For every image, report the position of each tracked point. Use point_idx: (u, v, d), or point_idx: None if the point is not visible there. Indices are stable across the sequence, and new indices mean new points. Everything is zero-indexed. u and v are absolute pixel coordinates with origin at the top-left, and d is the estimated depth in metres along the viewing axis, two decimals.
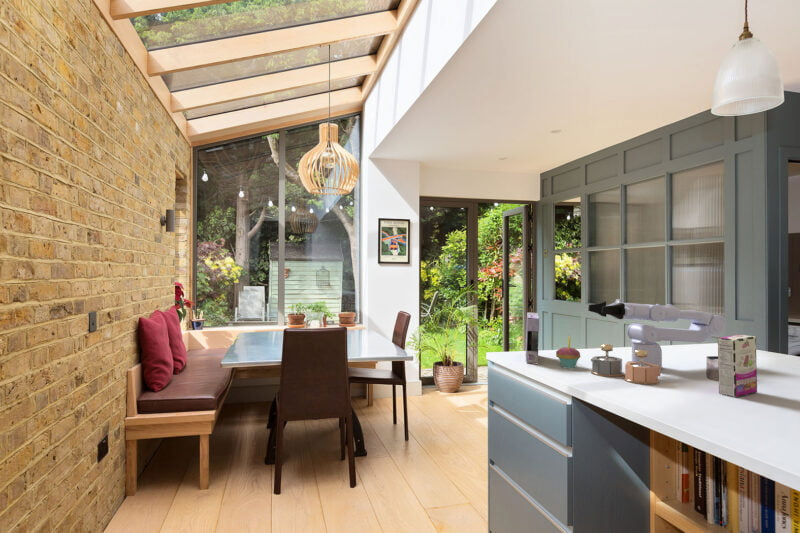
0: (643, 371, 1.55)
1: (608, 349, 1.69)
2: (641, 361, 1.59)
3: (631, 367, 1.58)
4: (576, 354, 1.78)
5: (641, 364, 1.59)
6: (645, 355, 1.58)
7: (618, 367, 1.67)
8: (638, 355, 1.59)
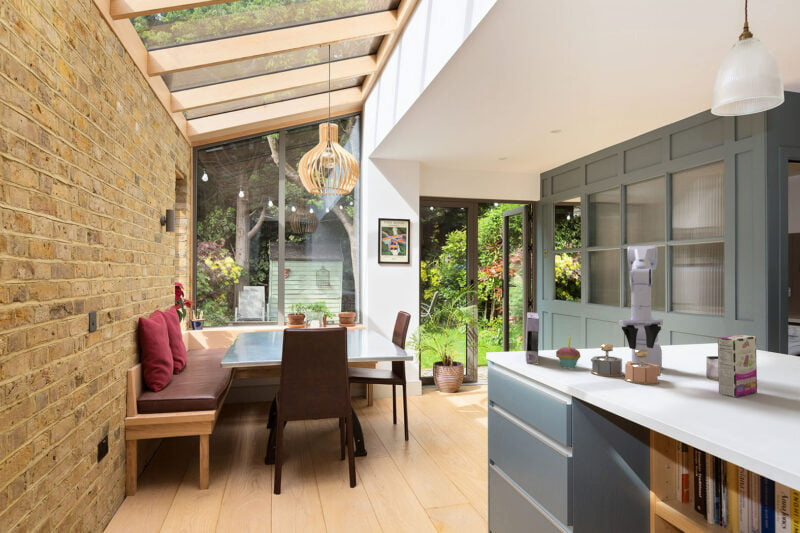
0: (643, 371, 1.55)
1: (608, 349, 1.69)
2: (641, 361, 1.59)
3: (631, 367, 1.58)
4: (576, 354, 1.78)
5: (641, 364, 1.59)
6: (645, 355, 1.58)
7: (618, 367, 1.67)
8: (638, 355, 1.59)
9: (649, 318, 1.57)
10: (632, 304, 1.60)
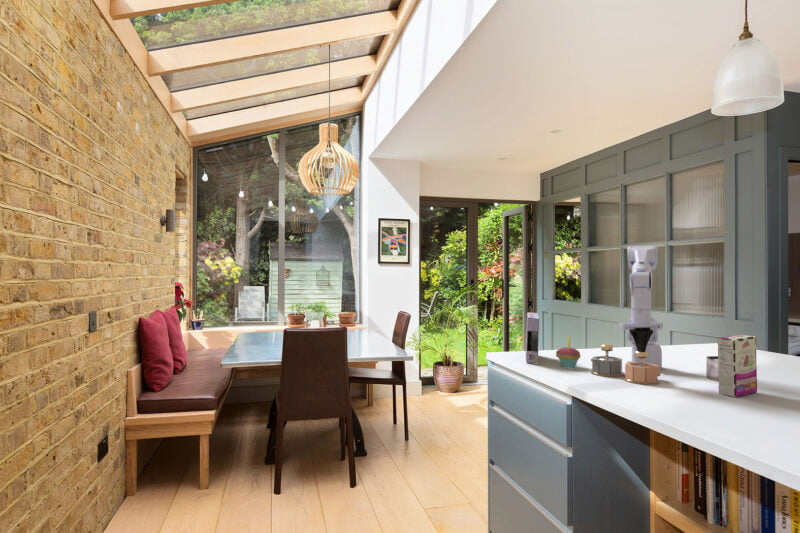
0: (643, 371, 1.55)
1: (608, 349, 1.69)
2: (641, 362, 1.59)
3: (631, 367, 1.58)
4: (576, 354, 1.78)
5: (641, 365, 1.59)
6: (645, 356, 1.58)
7: (618, 367, 1.67)
8: (638, 356, 1.59)
9: (649, 321, 1.57)
10: (632, 307, 1.60)
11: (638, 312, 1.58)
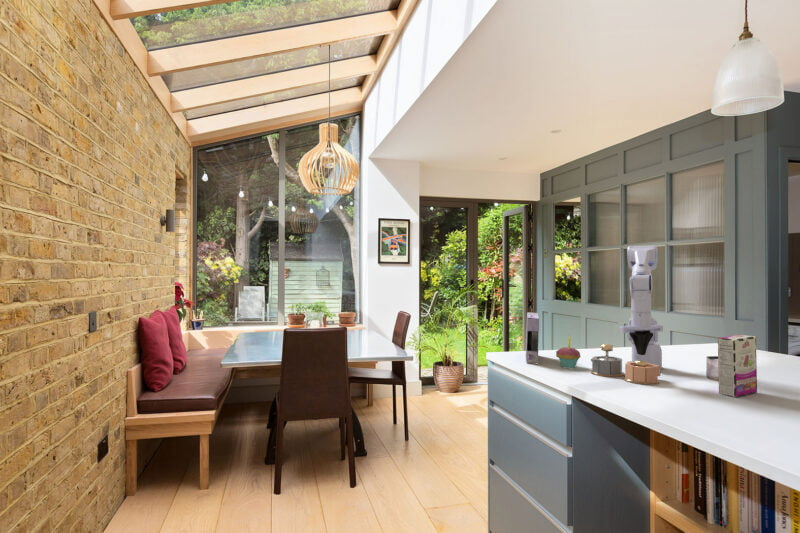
0: (643, 371, 1.55)
1: (608, 349, 1.69)
2: None
3: (631, 367, 1.58)
4: (576, 354, 1.78)
5: None
6: (645, 366, 1.58)
7: (618, 367, 1.67)
8: (638, 366, 1.59)
9: (649, 324, 1.57)
10: (632, 310, 1.60)
11: (638, 315, 1.58)
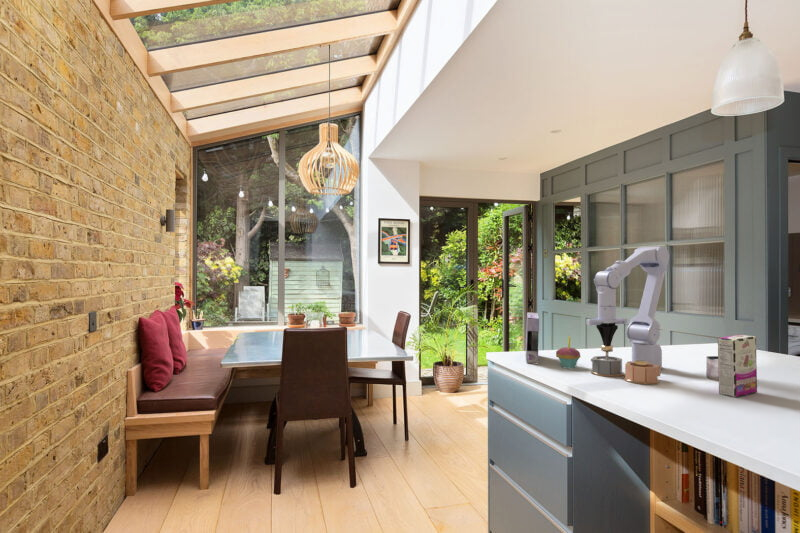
0: (643, 371, 1.55)
1: (608, 350, 1.69)
2: None
3: (631, 367, 1.58)
4: (576, 354, 1.78)
5: None
6: (645, 366, 1.58)
7: (618, 367, 1.67)
8: (638, 366, 1.59)
9: (614, 317, 1.68)
10: None
11: (603, 309, 1.68)
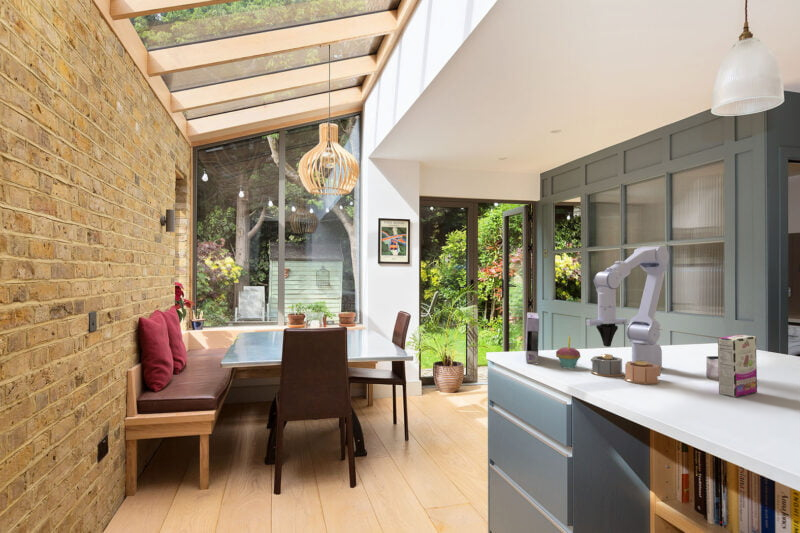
0: (643, 371, 1.55)
1: (608, 359, 1.69)
2: None
3: (631, 367, 1.58)
4: (576, 354, 1.78)
5: None
6: (645, 366, 1.58)
7: (618, 367, 1.67)
8: (638, 366, 1.59)
9: (614, 318, 1.68)
10: None
11: (603, 309, 1.68)
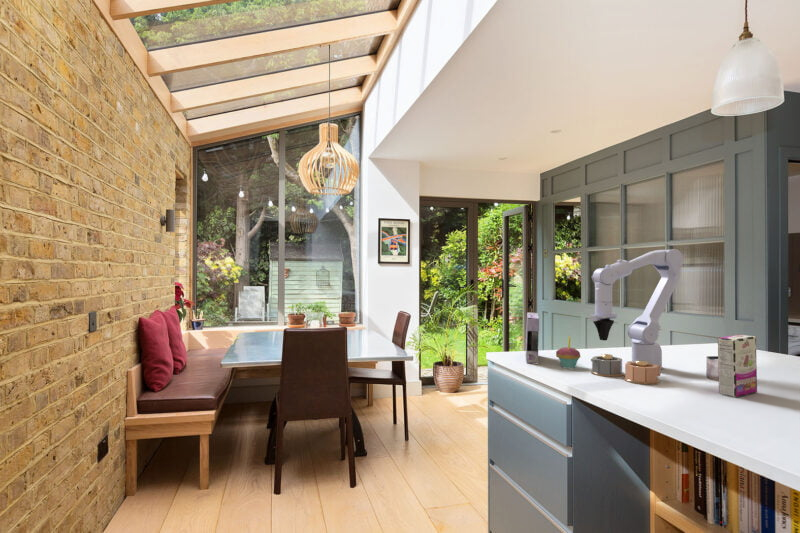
0: (643, 371, 1.55)
1: (608, 359, 1.69)
2: None
3: (631, 367, 1.58)
4: (576, 354, 1.78)
5: None
6: (645, 366, 1.58)
7: (618, 367, 1.67)
8: (638, 366, 1.59)
9: None
10: None
11: (604, 304, 1.74)
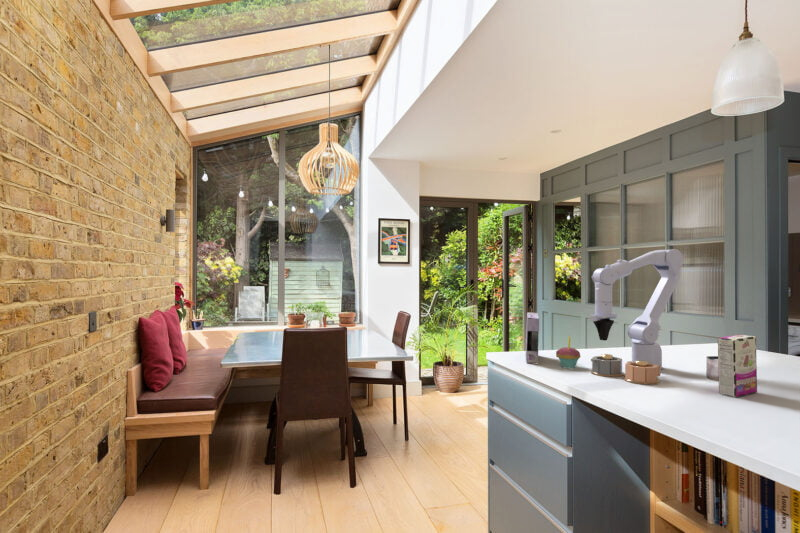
0: (643, 371, 1.55)
1: (608, 359, 1.69)
2: None
3: (631, 367, 1.58)
4: (576, 354, 1.78)
5: None
6: (645, 366, 1.58)
7: (618, 367, 1.67)
8: (638, 366, 1.59)
9: None
10: None
11: (604, 304, 1.74)
